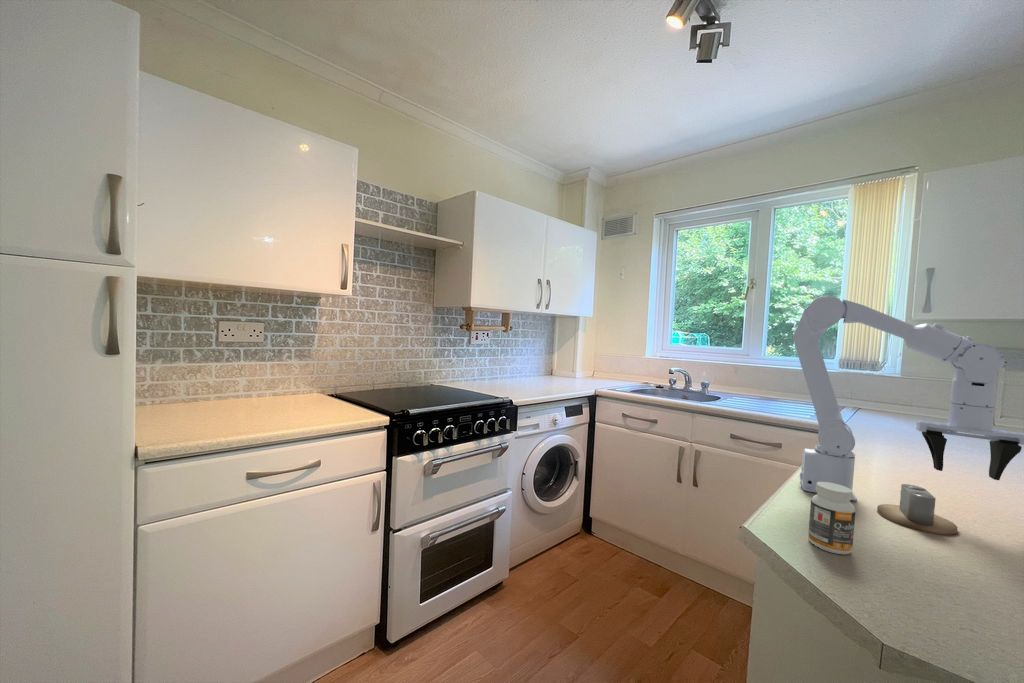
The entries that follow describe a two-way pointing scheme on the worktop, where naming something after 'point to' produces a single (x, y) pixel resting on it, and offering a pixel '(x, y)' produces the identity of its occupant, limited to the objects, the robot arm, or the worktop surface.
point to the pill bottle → (832, 518)
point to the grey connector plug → (917, 504)
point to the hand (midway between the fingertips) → (965, 473)
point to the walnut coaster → (898, 517)
